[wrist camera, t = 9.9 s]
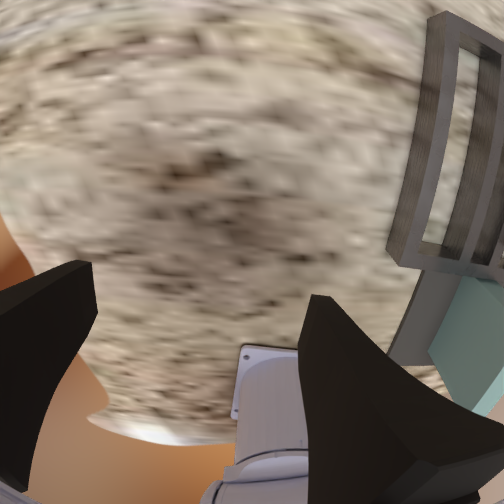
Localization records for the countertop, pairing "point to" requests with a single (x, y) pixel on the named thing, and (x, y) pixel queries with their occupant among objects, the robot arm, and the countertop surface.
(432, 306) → the dark grey square plate
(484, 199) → the rack
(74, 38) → the countertop surface
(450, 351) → the teal panel
